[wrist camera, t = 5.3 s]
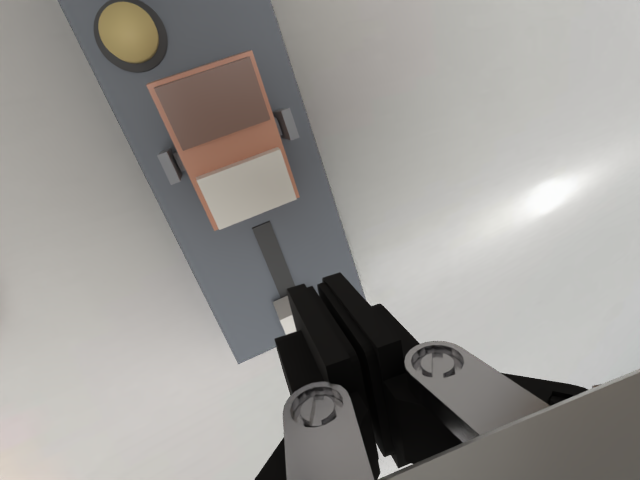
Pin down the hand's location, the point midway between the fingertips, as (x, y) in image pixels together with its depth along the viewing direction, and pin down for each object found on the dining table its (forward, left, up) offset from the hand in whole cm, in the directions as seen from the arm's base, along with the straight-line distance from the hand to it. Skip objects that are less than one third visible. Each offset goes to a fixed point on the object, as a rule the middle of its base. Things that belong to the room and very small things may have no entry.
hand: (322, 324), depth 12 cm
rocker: (-5, 0, -12) cm, 13 cm away
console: (-4, 0, -17) cm, 18 cm away
